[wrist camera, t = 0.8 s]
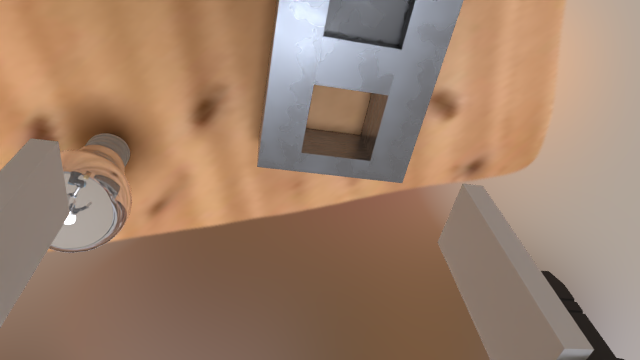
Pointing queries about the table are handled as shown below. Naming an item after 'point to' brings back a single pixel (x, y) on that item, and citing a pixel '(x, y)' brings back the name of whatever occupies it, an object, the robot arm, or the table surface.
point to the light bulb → (94, 193)
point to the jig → (353, 81)
